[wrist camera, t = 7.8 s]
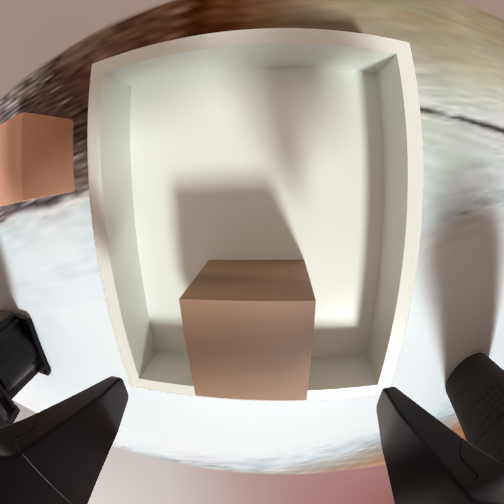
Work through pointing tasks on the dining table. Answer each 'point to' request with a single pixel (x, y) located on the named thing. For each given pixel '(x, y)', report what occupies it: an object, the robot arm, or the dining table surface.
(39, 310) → the dining table surface
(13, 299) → the dining table surface
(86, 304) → the dining table surface
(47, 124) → the terracotta block
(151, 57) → the tray
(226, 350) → the walnut block
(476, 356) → the drinking cup
